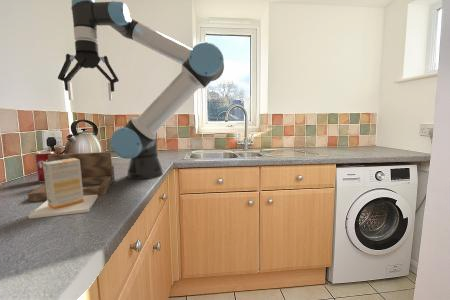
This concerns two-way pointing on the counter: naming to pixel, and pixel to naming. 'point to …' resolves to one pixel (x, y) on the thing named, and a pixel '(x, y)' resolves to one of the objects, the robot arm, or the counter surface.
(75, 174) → the supplement box
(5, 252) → the counter surface
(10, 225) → the counter surface
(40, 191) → the walnut case
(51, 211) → the off-white pad
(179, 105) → the robot arm
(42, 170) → the soda can
